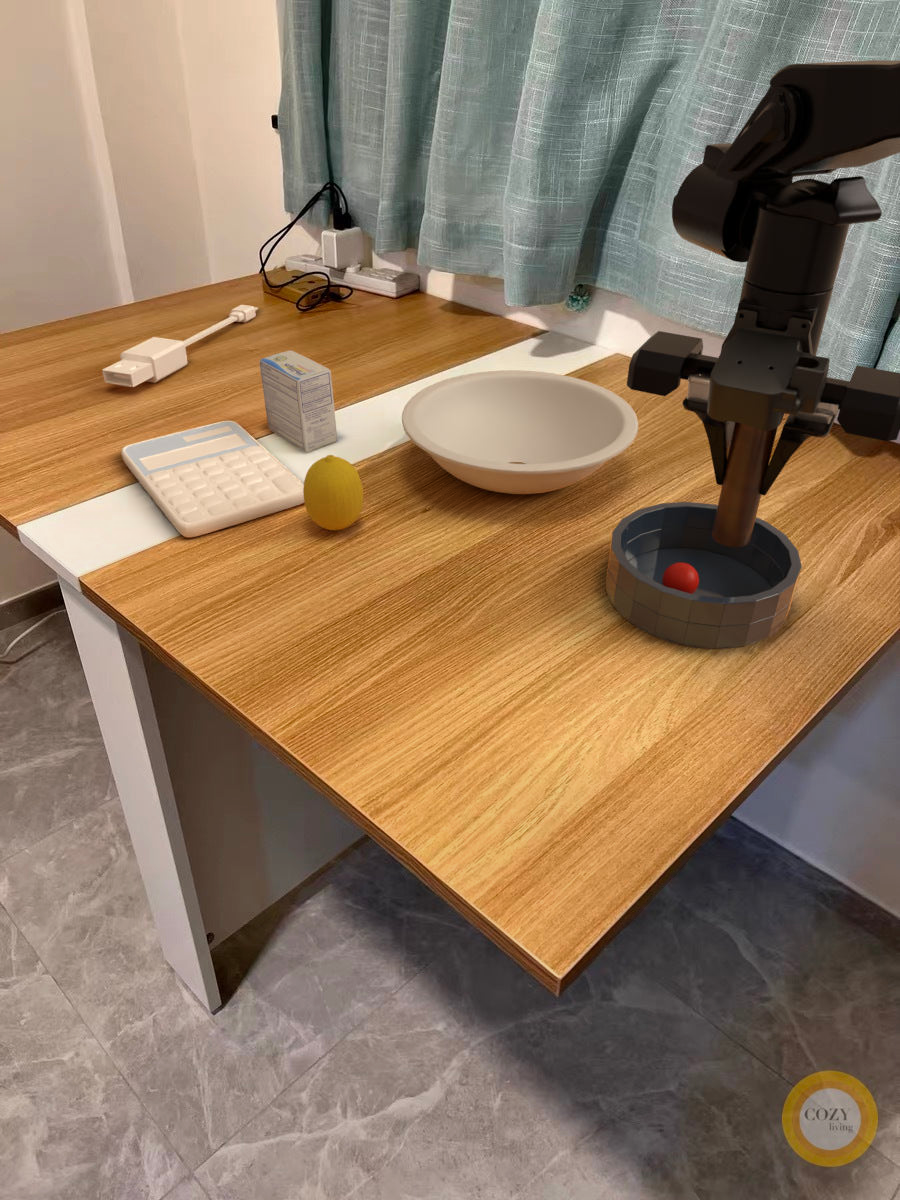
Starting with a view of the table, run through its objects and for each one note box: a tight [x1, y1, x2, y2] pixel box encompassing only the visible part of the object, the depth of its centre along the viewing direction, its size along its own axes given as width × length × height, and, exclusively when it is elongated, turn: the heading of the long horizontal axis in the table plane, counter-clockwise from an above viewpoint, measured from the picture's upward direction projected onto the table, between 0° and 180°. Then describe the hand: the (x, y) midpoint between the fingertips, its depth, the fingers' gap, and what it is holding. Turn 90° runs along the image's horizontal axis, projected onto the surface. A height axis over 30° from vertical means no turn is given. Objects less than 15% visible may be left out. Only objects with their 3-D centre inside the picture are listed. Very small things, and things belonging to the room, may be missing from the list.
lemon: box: [303, 454, 365, 532], centre depth 82 cm, size 6×6×8 cm
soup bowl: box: [401, 369, 639, 495], centre depth 92 cm, size 24×24×7 cm
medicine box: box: [259, 349, 338, 453], centre depth 98 cm, size 8×4×9 cm, turn 41°
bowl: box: [605, 501, 803, 650], centre depth 75 cm, size 15×15×5 cm
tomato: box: [662, 563, 699, 594], centre depth 75 cm, size 3×3×3 cm
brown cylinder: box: [712, 422, 779, 547], centre depth 68 cm, size 3×3×11 cm
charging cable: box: [101, 304, 259, 388], centre depth 122 cm, size 5×32×3 cm, turn 160°
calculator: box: [121, 420, 305, 538], centre depth 92 cm, size 13×20×2 cm, turn 34°
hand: (741, 487), depth 68 cm, fingers closed on brown cylinder, 3 cm apart
